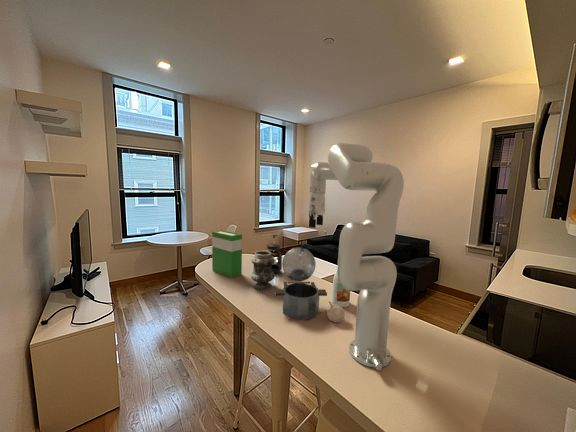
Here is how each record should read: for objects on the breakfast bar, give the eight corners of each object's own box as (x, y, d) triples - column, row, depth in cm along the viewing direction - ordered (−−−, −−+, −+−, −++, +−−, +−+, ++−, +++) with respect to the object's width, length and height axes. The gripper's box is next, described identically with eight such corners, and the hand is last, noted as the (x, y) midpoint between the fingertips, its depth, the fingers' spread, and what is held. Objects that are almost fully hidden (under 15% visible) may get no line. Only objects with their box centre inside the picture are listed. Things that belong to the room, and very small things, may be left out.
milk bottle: (329, 305, 108) (331, 261, 105) (334, 298, 114) (337, 257, 112) (346, 309, 104) (349, 264, 102) (351, 302, 111) (353, 260, 108)
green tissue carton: (212, 270, 146) (212, 231, 144) (222, 267, 152) (222, 230, 149) (231, 277, 136) (231, 235, 133) (241, 274, 142) (241, 234, 139)
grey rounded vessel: (275, 282, 131) (276, 250, 129) (271, 292, 119) (272, 256, 117) (253, 281, 132) (254, 248, 130) (248, 290, 120) (248, 255, 118)
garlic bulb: (332, 314, 100) (333, 296, 99) (346, 320, 96) (347, 301, 95) (324, 321, 94) (325, 301, 94) (338, 327, 90) (340, 307, 89)
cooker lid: (315, 247, 112) (314, 247, 114) (282, 247, 111) (282, 247, 113) (315, 283, 109) (314, 282, 112) (282, 283, 108) (281, 282, 111)
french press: (261, 271, 148) (262, 234, 145) (273, 268, 154) (274, 232, 152) (274, 276, 139) (275, 237, 137) (286, 273, 146) (287, 235, 143)
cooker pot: (329, 320, 95) (330, 298, 94) (275, 320, 94) (275, 298, 93) (321, 300, 111) (321, 282, 110) (274, 300, 110) (275, 281, 109)
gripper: (318, 191, 106) (316, 229, 108) (330, 190, 121) (329, 224, 123) (302, 190, 109) (301, 227, 111) (316, 190, 124) (315, 223, 126)
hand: (315, 226), depth 117 cm, fingers open, 9 cm apart
